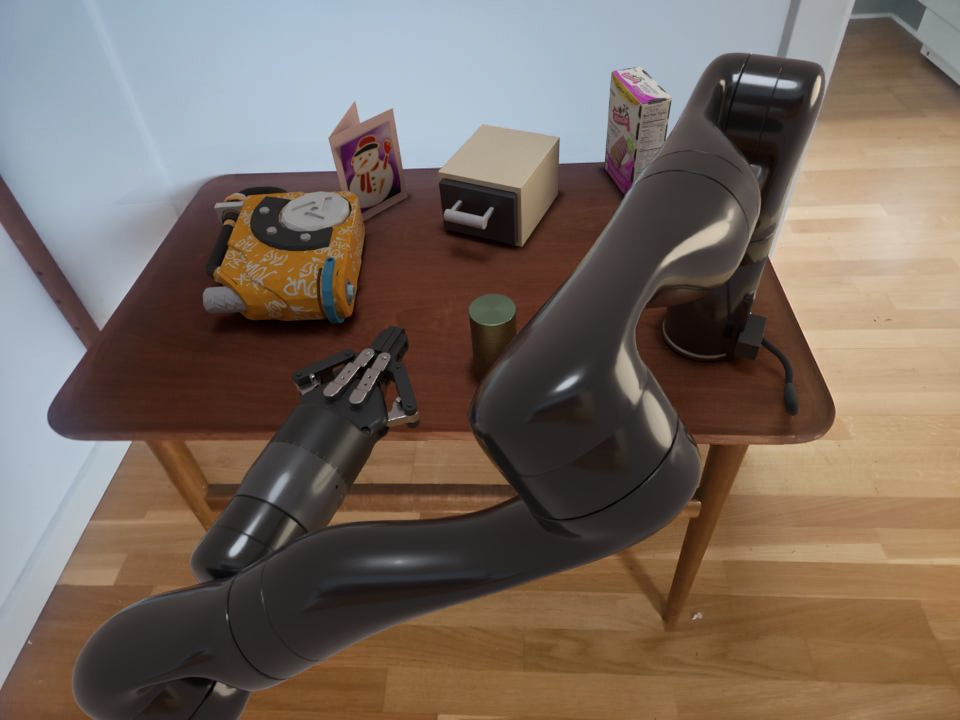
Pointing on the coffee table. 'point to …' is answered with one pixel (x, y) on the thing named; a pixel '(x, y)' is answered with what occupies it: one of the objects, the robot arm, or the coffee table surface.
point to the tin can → (490, 329)
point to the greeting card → (369, 160)
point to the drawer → (479, 211)
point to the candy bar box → (634, 124)
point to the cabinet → (511, 169)
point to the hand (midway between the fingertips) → (398, 333)
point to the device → (286, 255)
